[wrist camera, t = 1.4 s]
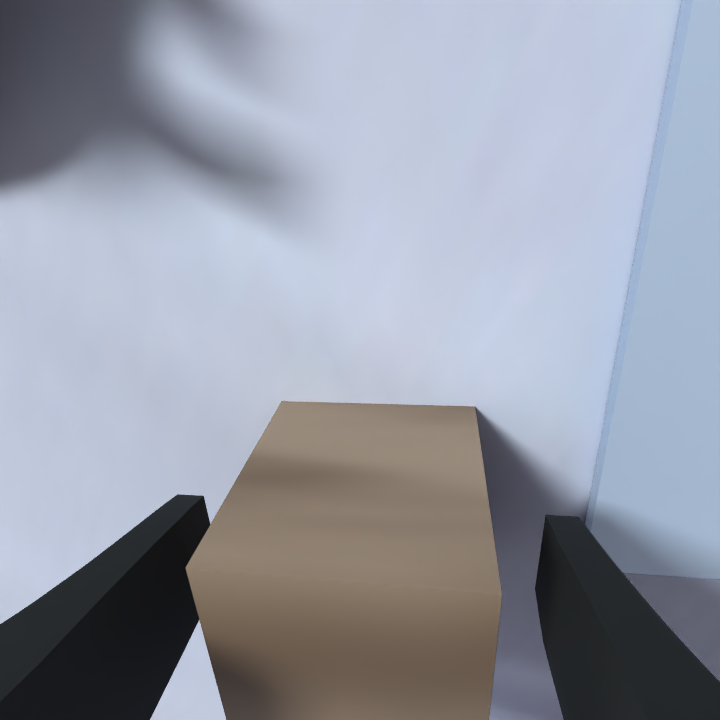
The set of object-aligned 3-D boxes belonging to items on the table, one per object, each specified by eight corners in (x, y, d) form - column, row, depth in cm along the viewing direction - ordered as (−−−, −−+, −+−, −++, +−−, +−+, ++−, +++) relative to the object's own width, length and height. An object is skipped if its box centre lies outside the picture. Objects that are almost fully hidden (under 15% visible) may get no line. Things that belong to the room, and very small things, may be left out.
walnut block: (466, 553, 13) (483, 779, 8) (301, 541, 13) (233, 744, 9) (474, 405, 11) (502, 595, 6) (282, 399, 12) (185, 567, 7)
